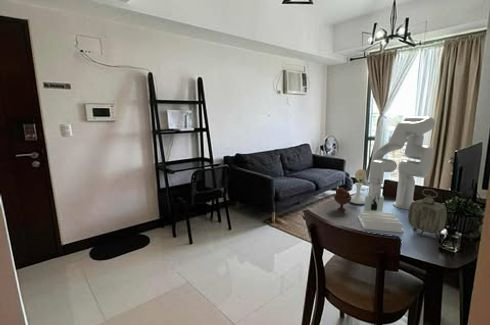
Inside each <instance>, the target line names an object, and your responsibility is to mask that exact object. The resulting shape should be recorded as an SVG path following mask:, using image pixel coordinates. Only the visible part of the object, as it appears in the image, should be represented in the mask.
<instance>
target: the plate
mask: <svg viewBox="0 0 490 325" xmlns="http://www.w3.org/2000/svg"><path fill="white" fill-rule="evenodd" d="M364 198H365V203H364V204H363V205H364V206H363V210H364V211H377V212H383V210H384V209H383V208H384V201H385V200H384V199H385V198H384V196H382V195H380V200H378V203H377V210H371V204H372V200H371V199H370V196H369V195H368V194H365V195H364ZM374 199H375V198H374ZM374 201H375V200H374Z"/></svg>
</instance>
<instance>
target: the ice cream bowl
mask: <svg viewBox="0 0 490 325" xmlns="http://www.w3.org/2000/svg"><path fill="white" fill-rule="evenodd" d="M351 198H352V195H351V194H350V192H349V191H348V190H347V189H345V188H344V187H338V188H336V190H335V193H334V194H333V199H334V200H335V202H336V203H337V204H339V205H340V207H337V208H336V210H337V211H338V212H342V213H343V212H346V211H347V209H346V208H344V205H347V204H348V203H351V202H350V200H351Z"/></svg>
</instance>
